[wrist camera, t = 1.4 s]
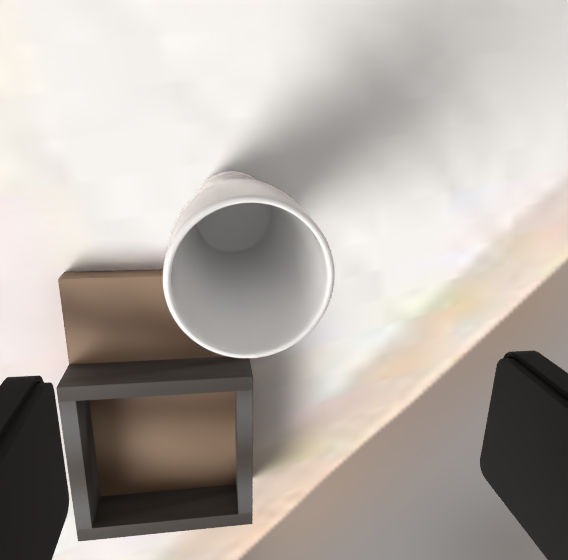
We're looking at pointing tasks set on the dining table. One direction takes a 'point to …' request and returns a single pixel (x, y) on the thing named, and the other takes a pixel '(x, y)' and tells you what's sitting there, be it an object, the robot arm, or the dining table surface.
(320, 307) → the white cup
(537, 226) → the dining table surface
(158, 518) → the open box
